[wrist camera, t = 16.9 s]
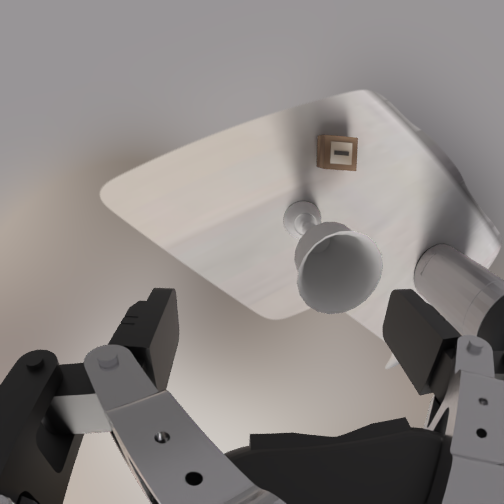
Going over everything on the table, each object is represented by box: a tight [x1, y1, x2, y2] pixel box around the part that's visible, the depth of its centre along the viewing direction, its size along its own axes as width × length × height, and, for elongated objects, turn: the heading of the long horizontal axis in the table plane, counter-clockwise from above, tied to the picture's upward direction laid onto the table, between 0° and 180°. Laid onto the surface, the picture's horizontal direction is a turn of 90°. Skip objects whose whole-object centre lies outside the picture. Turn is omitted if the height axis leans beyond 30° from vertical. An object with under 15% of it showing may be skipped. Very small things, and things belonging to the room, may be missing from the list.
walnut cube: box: [317, 135, 358, 171], centre depth 36 cm, size 4×4×4 cm
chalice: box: [283, 201, 383, 314], centre depth 32 cm, size 7×7×18 cm
